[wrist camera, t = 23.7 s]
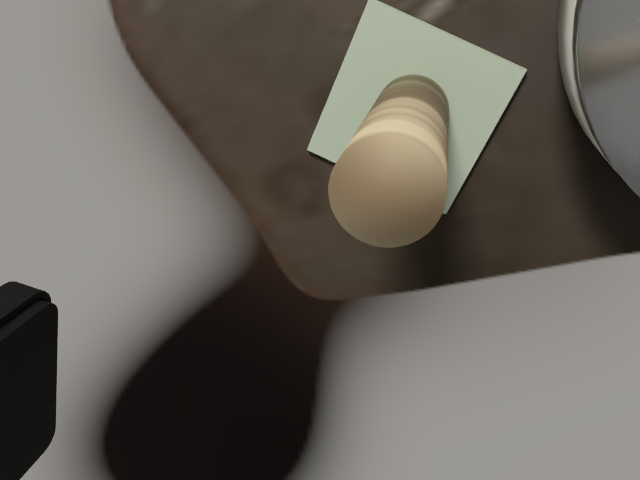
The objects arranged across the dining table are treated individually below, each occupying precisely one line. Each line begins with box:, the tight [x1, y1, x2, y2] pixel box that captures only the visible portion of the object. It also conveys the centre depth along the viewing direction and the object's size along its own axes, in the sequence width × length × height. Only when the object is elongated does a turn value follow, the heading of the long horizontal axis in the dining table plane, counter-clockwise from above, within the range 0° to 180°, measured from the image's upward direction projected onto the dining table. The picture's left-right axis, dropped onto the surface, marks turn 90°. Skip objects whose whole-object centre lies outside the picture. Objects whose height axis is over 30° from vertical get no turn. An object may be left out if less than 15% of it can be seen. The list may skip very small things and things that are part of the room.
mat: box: [307, 0, 527, 214], centre depth 33 cm, size 9×9×1 cm
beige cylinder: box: [328, 74, 449, 248], centre depth 26 cm, size 4×4×14 cm
